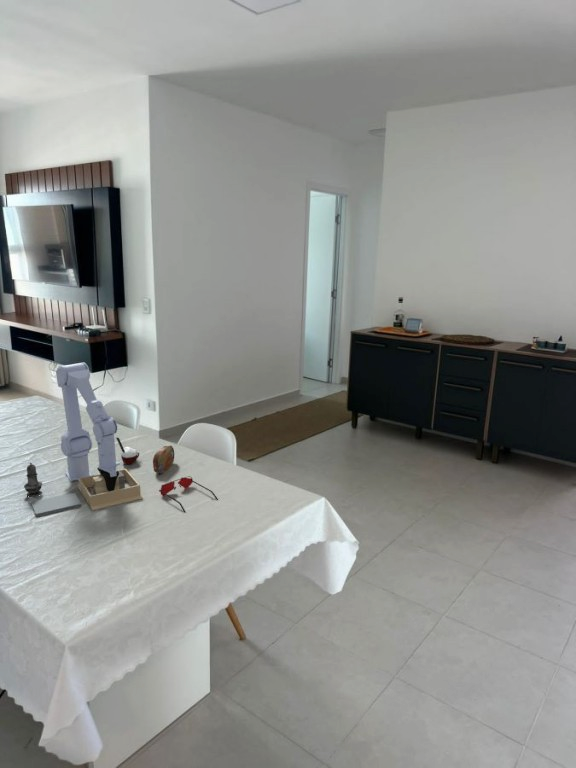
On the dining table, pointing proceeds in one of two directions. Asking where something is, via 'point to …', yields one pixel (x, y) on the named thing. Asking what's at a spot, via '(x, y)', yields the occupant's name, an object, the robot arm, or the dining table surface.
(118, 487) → the capped box
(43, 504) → the slate board
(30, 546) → the dining table surface
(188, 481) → the glasses
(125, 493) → the wooden tray
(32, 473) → the salt shaker
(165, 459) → the tin
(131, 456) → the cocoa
